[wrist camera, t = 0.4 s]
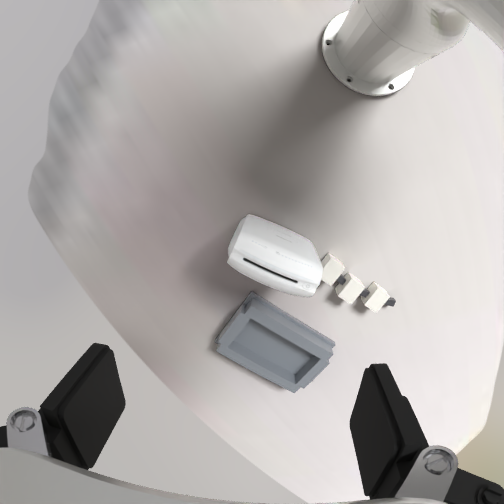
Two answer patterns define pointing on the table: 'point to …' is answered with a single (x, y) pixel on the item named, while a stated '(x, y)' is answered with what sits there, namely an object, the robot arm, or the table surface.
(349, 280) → the white cube chain
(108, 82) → the table surface
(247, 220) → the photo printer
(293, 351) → the end holder
